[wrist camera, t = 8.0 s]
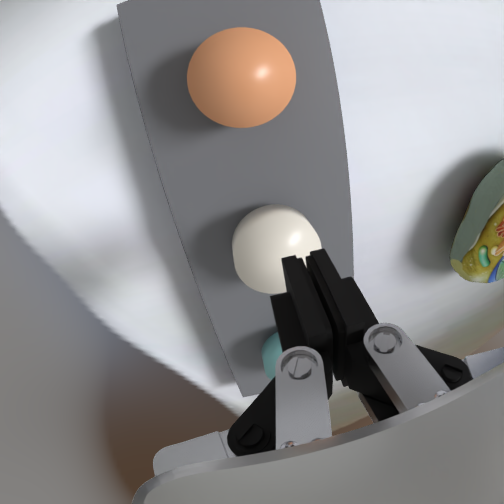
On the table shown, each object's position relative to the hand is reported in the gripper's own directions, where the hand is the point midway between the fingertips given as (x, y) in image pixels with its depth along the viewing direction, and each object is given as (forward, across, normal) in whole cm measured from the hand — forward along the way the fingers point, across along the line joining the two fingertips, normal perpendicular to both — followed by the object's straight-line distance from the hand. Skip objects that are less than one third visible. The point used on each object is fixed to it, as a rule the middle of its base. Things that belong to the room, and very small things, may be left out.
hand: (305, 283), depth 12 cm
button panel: (+8, +1, +1) cm, 8 cm away
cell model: (+8, -21, +5) cm, 23 cm away
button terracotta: (+6, +1, -8) cm, 10 cm away
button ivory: (+6, +1, +1) cm, 6 cm away
